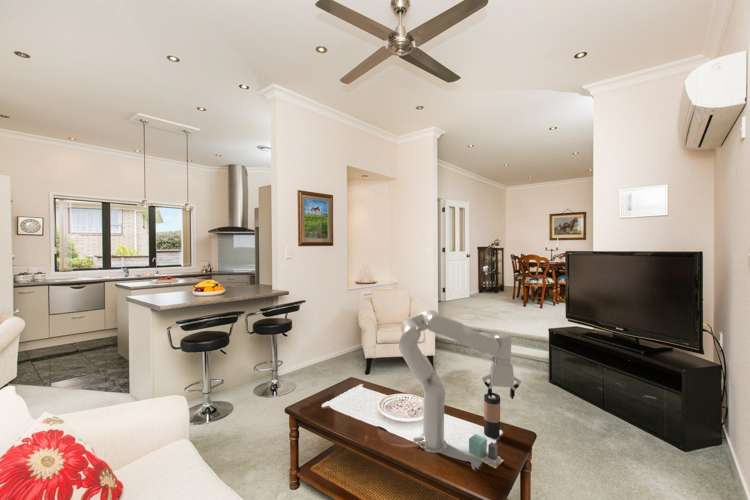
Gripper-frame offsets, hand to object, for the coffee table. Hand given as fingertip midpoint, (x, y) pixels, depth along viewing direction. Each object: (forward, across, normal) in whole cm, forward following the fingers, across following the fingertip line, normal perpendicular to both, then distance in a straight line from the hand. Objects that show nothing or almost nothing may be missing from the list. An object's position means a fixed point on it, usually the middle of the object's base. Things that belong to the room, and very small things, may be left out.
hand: (500, 396), depth 158 cm
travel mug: (+23, -2, +7) cm, 25 cm away
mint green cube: (+22, -11, -8) cm, 27 cm away
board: (+23, -9, -11) cm, 27 cm away
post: (+22, -6, -13) cm, 27 cm away
